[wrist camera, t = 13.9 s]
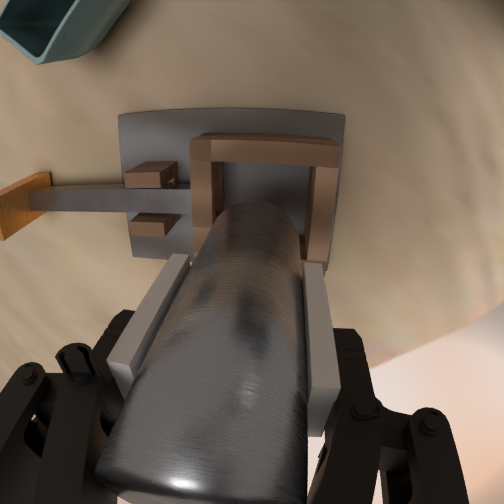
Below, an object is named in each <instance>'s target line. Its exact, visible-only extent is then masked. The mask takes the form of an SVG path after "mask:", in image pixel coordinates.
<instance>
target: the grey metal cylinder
mask: <svg viewBox="0 0 504 504" xmlns="http://www.w3.org/2000/svg"><path fill="white" fill-rule="evenodd" d="M94 475H95V477H96V478H97V480H98V481H99V482H101V483H102V484H103V485H104V486H105V487H106V488H107V489H108V490H109V491H111V492H112V493H114V494H115V495H117V496H119V497H120V498H122V499H124V500H126V501H127V502H129V503H132V504H307V481H308V480H307V479H308V413H307V377H306V348H305V326H304V307H303V290H302V273H301V259H300V246H299V236H298V232H297V229H296V227H295V225H294V223H293V222H292V220H291V219H290V218H289V216H288V215H287V214H286V213H284V212H283V211H282V210H281V209H279V208H277V207H276V206H274V205H271V204H269V203H265V202H261V201H245V202H240V203H237V204H235V205H232V206H230V207H229V208H227V209H226V210H224V211H223V212H222V213H221V214H220V215H219V216H218V218H217V219H216V220H215V222H214V224H213V226H212V228H211V230H210V231H209V233H208V235H207V237H206V239H205V241H204V242H203V244H202V246H201V248H200V250H199V252H198V254H197V255H196V257H195V259H194V261H193V263H192V265H191V267H190V269H189V271H188V272H187V274H186V276H185V278H184V280H183V282H182V284H181V286H180V288H179V290H178V292H177V294H176V296H175V298H174V300H173V301H172V303H171V305H170V307H169V309H168V311H167V313H166V315H165V317H164V319H163V321H162V323H161V325H160V327H159V329H158V331H157V333H156V335H155V337H154V340H153V342H152V344H151V346H150V348H149V350H148V352H147V354H146V356H145V358H144V360H143V362H142V364H141V366H140V369H139V371H138V373H137V375H136V377H135V379H134V381H133V384H132V386H131V388H130V390H129V392H128V394H127V397H126V399H125V401H124V403H123V405H122V408H121V410H120V412H119V414H118V416H117V419H116V421H115V423H114V425H113V428H112V430H111V432H110V435H109V437H108V439H107V442H106V444H105V446H104V449H103V451H102V453H101V456H100V458H99V460H98V463H97V465H96V468H95V470H94Z"/></svg>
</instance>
